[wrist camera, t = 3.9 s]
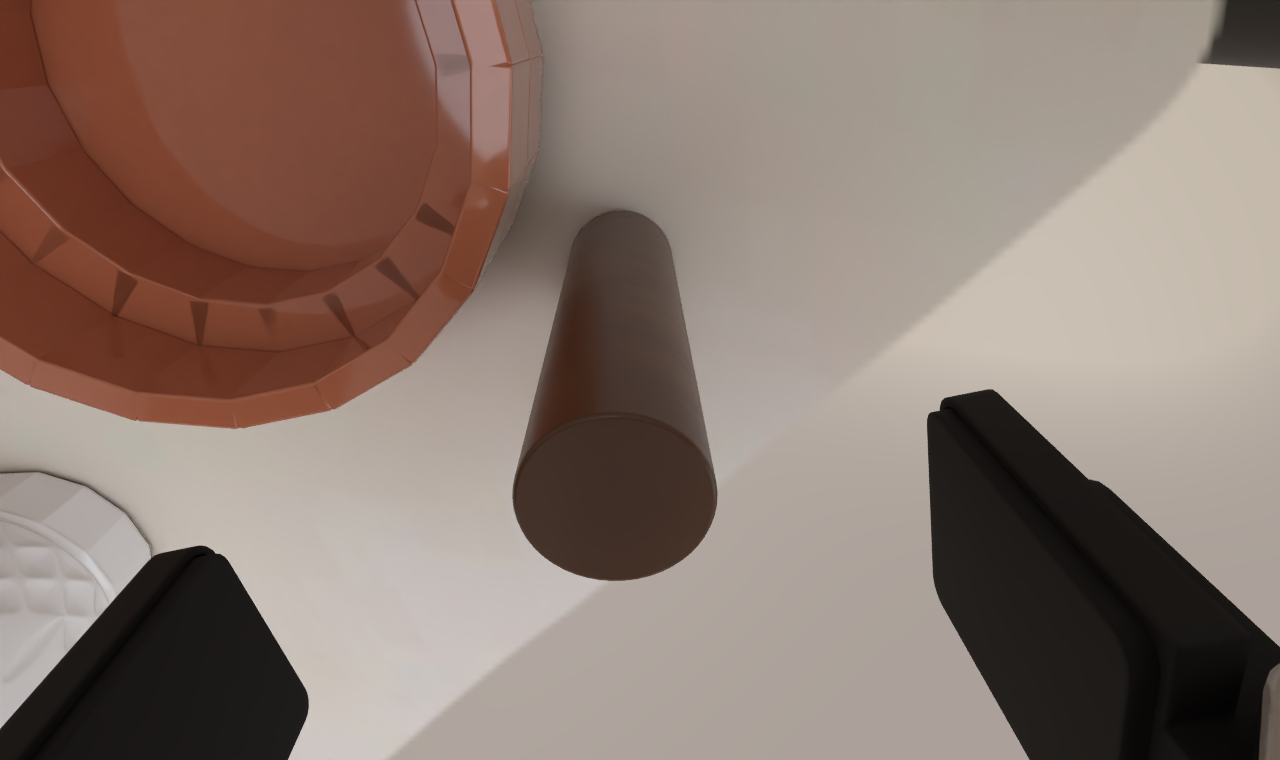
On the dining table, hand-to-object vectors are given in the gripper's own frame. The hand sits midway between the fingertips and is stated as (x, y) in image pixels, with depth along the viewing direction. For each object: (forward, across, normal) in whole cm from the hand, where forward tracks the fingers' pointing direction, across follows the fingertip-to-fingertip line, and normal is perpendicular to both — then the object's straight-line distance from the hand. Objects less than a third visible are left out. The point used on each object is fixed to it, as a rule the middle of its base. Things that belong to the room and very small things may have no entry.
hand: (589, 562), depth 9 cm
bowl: (+13, +8, -7) cm, 17 cm away
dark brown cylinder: (+13, 0, 0) cm, 13 cm away
